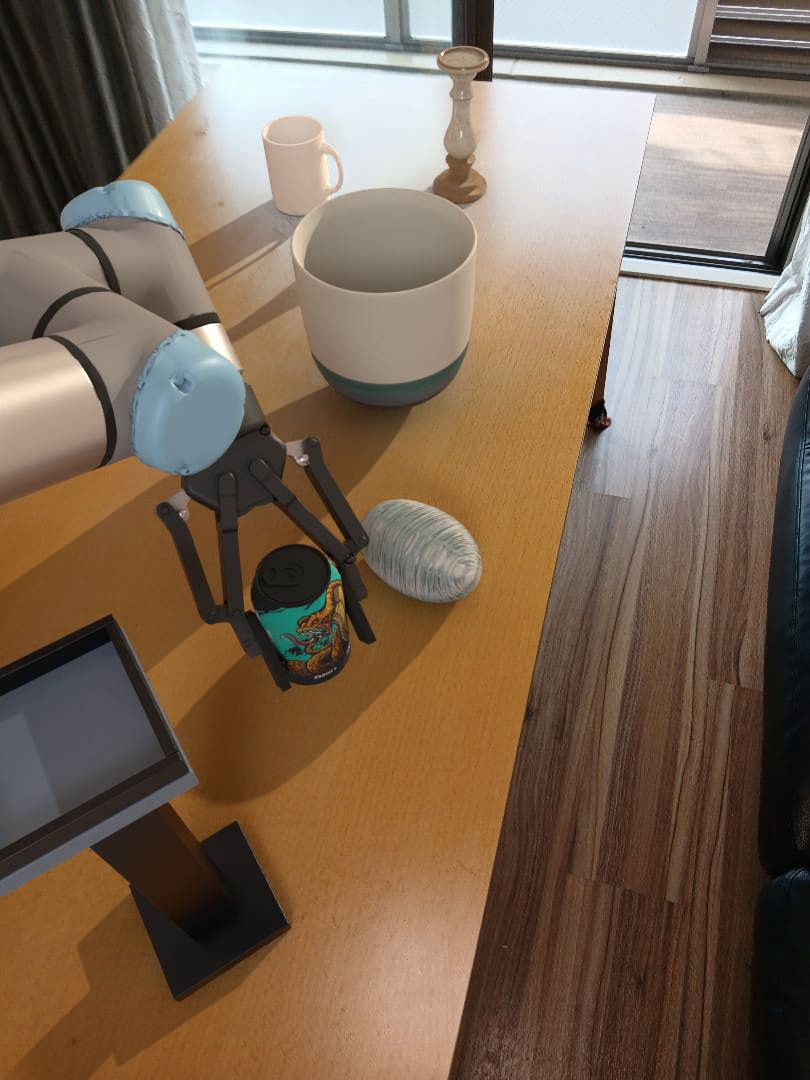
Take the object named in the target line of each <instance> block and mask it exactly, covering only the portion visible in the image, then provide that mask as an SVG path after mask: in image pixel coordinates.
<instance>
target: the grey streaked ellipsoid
mask: <svg viewBox="0 0 810 1080" xmlns="http://www.w3.org/2000/svg"><path fill="white" fill-rule="evenodd" d="M360 523H361V525H362V527H363V528H364V530H365V532H366V533H367V535H368V537H369V544H368V546H367V547H365V548H363V549H362V550H361V551H360V552H361V555H362V556H363V559H364V561H365V563H366V564H367V566H368V567H369V568H370V569H371V570H372V572H374V574H375V575H377V577H379V578H380V579H381V581H383V582H384V583H386V584H387V585H388V586H389V587H391V588H392V589H394V590H396V592H399V593H401V594H402V595H404V596H407V597H409V598H413V599H416V600H419V601H421V602H426V603H435V604H444V603H445V604H446V603H452V602H455V601H458V600H461V599H463V598H465V597H467V596H469V595H470V594H471V593H472V592H473V591H474V590H475V589H476V587H477V586H478V584H479V582H480V579H481V577H482V571H483V561H482V556H481V553H480V550H479V547H478V544H477V542H476V540H475V539H474V537H473V536H472V534H471V533H470V532H469V531H468V529H467V528H466V527H465V526H464V525H463V524H462V523H461V522H459V520H457V519H456V518H455V517H453V516H452V515H451V514H449V513H447V512H445V511H444V510H442V509H439V508H438V507H435V506H433V505H429V504H426V503H423V502H420V501H416V500H411V499H403V498H398V499H390V500H385V501H382V502H379V503H377V504H375V505H374V506H373V507H372V508H371V509H369V510H368V511H367V512H366V513H365V515H364V516H363V518H362V520H361V522H360Z"/></svg>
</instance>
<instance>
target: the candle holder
mask: <svg viewBox="0 0 810 1080" xmlns="http://www.w3.org/2000/svg"><path fill="white" fill-rule="evenodd" d="M489 57H490V56H489V54H488V53H487V51H485V50H484V49H482V48H480V47H476V46H472V45H470V46H469V45H459V46H458V45H456V46H452V47H447V48H445V49H443V50H442V51H440V52H439V54H437V57H436V66H437V68H438V69H439V70H440V71H442V72H444V73H447V74H448V76H449V78H450V79H451V81H452V87H451V89H450V91H449V94H448V95H449V98H450V99H452V111H451V117H450V118H451V119H450V122H449V124H448V126H447V128H446V131H445V133H444V136H443V147H444V149H445V151H446V152H447V154H446V156H445V163H446V164H447V166H448V168H446V169H445V170H443V171H442V172H441V173H440V174H438V175H437V176H436V177H435V178H434V180H433V183H432V190H433V194H434V195H437V196H440V197H442V198H444V199H446V200H448V201H450V202H452V203H453V204H464V203H465V204H466V203H471V202H474V201H476V200H479V199H480V198H482V197H483V196H484V195H485V193H486V192H487V188H488V186H487V185H488V184H487V180H486V178H485V177H484V176H483V175H482V174H480V172H479V171H477V170H476V169H474V168H472V167H473V165H474V164H475V162H476V155H475V154H474V153H475V151H476V150H477V148H478V145H479V136H478V132H477V128H476V127H475V124H474V122H473V118H472V99H473V98H474V97H475V95H476V92H475V90H474V88H473V86H472V82H473V80H474V78H476V76H477V74H478V73H480V72H483V71H484V70H486V69H487V67H488V66H489V64H490V58H489Z"/></svg>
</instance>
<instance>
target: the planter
mask: <svg viewBox="0 0 810 1080" xmlns="http://www.w3.org/2000/svg"><path fill="white" fill-rule="evenodd" d="M289 246H290V256H291V261H292V267H293V273H294V279H295V280H294V281H295V285H296V291H297V297H298V301H299V306H300V312H301V316H302V321H303V327H304V331H305V335H306V339H307V344H308V347H309V351H310V354H311V356H312V359H313V361H314V364H315V365H316V367H317V369H318V371H319V373H320V375H321V376H322V377H323V379H324V380H325V381H326V383H327V384H328V385H329V386H330V388H331V389H333V391H335V393H337V394H338V395H340V396H341V397H342V398H344V399H346V400H347V401H349V402H351V403H353V404H355V405H357V406H361V407H364V408H366V409H371V410H374V411H375V410H376V411H385V412H386V411H388V412H390V411H401V410H406V409H407V410H408V409H412V408H414V407H417V406H420V405H422V404H424V403H426V402H429V401H430V400H432V399H434V398H435V397H437V396H438V395H439V394H441V393H443V391H444V390H445V389H447V387H448V386H449V385H450V384H451V383H452V382H453V380H454V379H455V378H456V376H457V374H458V372H459V371H460V369H461V367H462V364H463V362H464V360H465V357H466V354H467V351H468V348H469V343H470V338H471V332H472V331H471V330H472V323H473V313H474V312H473V311H474V299H475V288H476V287H475V286H476V268H477V250H478V249H477V247H478V234H477V230H476V227H475V223H473V221H472V219H471V218H470V216H469V215H468V214H467V212H465V210H463V209H462V208H461V207H459V206H458V205H456V203H453V202H450V201H448V200H446V199H444V198H442V197H440V196H437V195H436V194H435V193H430V192H427V191H423V190H419V189H412V188H405V187H374V188H366V189H361V190H356V191H352V192H348V193H343V194H340V195H338V196H335V197H333V198H331V199H330V200H328V201H326V202H324V203H322V204H320V205H319V206H317V207H315V208H314V209H313V210H311V211H310V212H309V213H307V214H306V215H305V216H302V218H301V219H300V221H299V222H298V223H297V224H296V226H295V227H294V230H293V231H292V234H291V237H290V245H289Z"/></svg>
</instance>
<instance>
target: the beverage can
mask: <svg viewBox="0 0 810 1080" xmlns="http://www.w3.org/2000/svg"><path fill="white" fill-rule="evenodd" d="M250 584H251V585H250V590H249V593H250V594H249V595H250V602H251V605H252V608H253V612H255V613H256V615H257V617H258V618H259V620H260V622H261V624H262V626H263V628H264V630H265V632H266V634H267V636H268V639H269V641H270V643H271V645H272V647H273V649H274V651H275V653H276V655H277V657H278V659H279V661H280V663H281V665H282V667H283V669H284V672H285V674H286V676H287V678H288V680H289V682H290V684H294V685H297V686H305V687H306V686H309V687H310V686H316V685H320V684H324V683H326V682H328V681H330V680H332V679H333V678H335V677H336V676H338V675H339V674H340V673H341V672H342V671H343V670H344V668H345V667H346V665H347V663H348V662H349V660H350V656H351V653H352V642H351V641H352V640H351V635H350V628H349V621H348V615H347V613H346V608H345V601H344V595H343V588H342V582H341V576H340V574H339V572H338V570H337V568H336V565H335V563H334V562H333V561H332V560H331V559H328V558H327V555H326V554H325V553H324V552H323V551H322V550H320V549H318V548H316V547H315V546H313V545H308V544H304V543H288V544H285V545H281V546H279V547H276V548H274V549H272V550H270V551H269V552H267V554H265V555H264V556H263V557H262V559H261V560H260V561H259V563H258V564H257V567H256V568H255V573H254V576H253V578H252V581H251V583H250Z"/></svg>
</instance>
